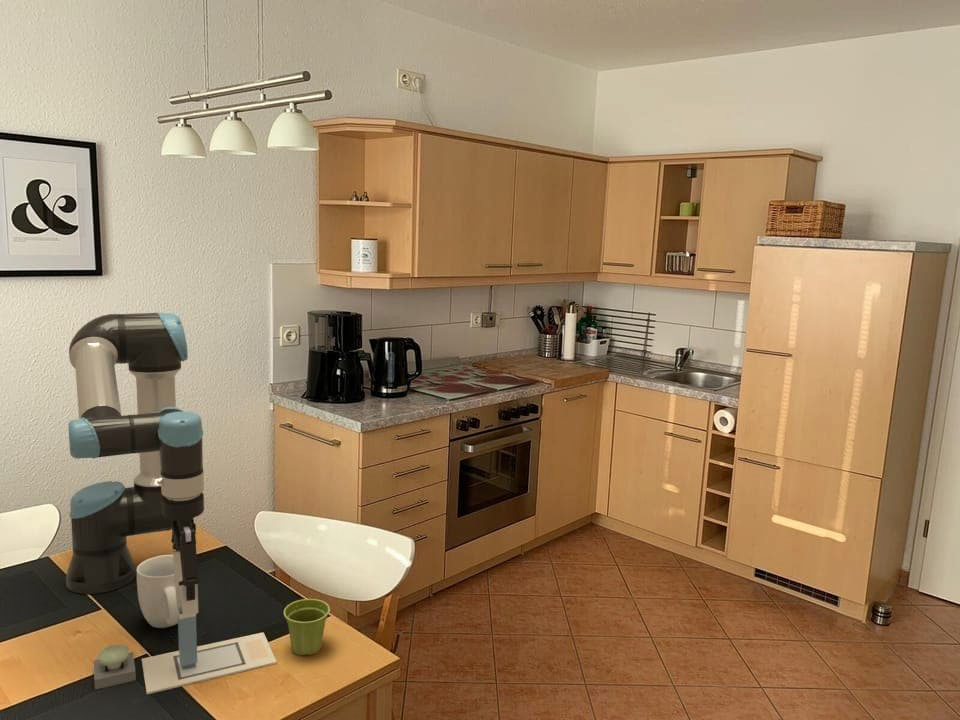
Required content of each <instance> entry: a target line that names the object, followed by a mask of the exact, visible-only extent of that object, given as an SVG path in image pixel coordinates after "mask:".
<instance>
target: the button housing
mask: <svg viewBox="0 0 960 720" xmlns="http://www.w3.org/2000/svg"><path fill="white" fill-rule="evenodd" d="M134 656H135V655H134V651H129V657H128V658H127V659H126V660H125V661H124V662H122V663H121V669H117V670H112V671H108V669H107V666H104V665H101V664H100V663H99V658H97V659H93V682H94V690H95V691H96V690H99V689H104V688H108V687H112V686H117V685H121V684H126V683H129V682H133V681H134V680H135V681H137V674H136V665H135V658H134Z"/></svg>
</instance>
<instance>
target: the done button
mask: <svg viewBox="0 0 960 720" xmlns="http://www.w3.org/2000/svg"><path fill="white" fill-rule="evenodd" d="M129 653H130V651H129V647H128V646H127V645H124V644H114V645H110V646H107V647H105V648H103V649H102V650H100V651H99V653H98V659H99V663H100V664H101V665H104V666H107V669H108V671H112V670H117V669H121V663H122V662H124V661H125V660H126V659H127V658H128V657H129Z"/></svg>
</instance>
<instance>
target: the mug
mask: <svg viewBox="0 0 960 720" xmlns="http://www.w3.org/2000/svg"><path fill="white" fill-rule="evenodd" d="M136 587H137V588H136V589H137V597H138V598H137V600H138V603H139V607H140V610H141V613H142V615H143V617H144V619H145V620H146V622H147V623H148V624H149V626H151V627H153V628H157V629H165V628H170V627H171V628H172V627H173V626H176V625H178V612H177V607H181V606H182V585H181V586H179V582H176V583H174V564H173V554H163V555H162V554H161V555H158V556H154V557H151V558H148V559H144V561H141V563H139V564H138V566H136Z"/></svg>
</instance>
